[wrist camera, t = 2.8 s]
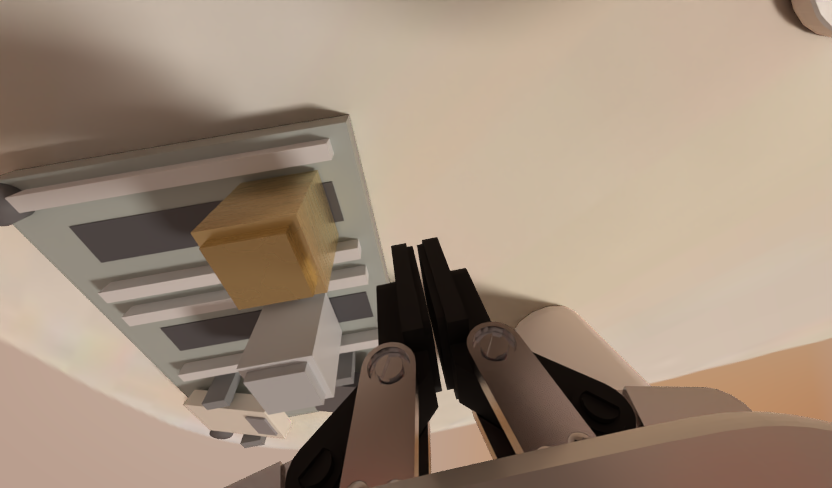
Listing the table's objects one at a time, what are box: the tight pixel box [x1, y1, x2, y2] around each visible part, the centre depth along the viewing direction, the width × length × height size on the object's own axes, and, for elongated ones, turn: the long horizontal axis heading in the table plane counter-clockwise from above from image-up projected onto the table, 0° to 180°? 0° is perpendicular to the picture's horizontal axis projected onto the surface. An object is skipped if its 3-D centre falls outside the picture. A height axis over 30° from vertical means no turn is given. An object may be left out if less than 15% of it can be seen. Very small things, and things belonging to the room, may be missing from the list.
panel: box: [0, 115, 390, 448], centre depth 21 cm, size 18×24×5 cm
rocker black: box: [315, 372, 360, 412], centre depth 24 cm, size 7×5×1 cm, turn 98°
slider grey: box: [236, 293, 342, 415], centre depth 19 cm, size 4×4×6 cm
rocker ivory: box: [183, 390, 292, 439], centre depth 24 cm, size 7×5×1 cm, turn 98°
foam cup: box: [515, 306, 650, 390], centre depth 23 cm, size 10×9×13 cm
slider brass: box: [191, 170, 339, 310], centre depth 14 cm, size 4×4×6 cm
